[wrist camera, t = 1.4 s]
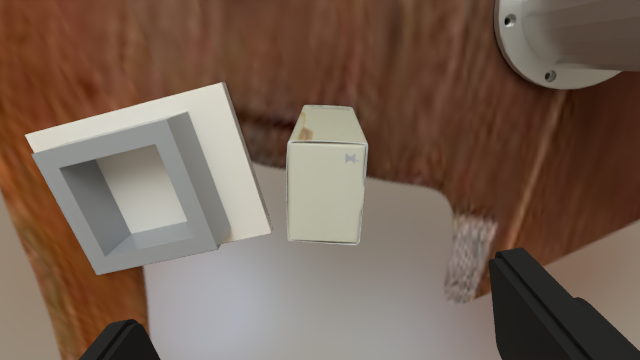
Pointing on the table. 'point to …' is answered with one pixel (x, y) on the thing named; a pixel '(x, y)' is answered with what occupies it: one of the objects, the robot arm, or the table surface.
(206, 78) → the table surface
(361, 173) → the skincare box
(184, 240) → the square socket base
